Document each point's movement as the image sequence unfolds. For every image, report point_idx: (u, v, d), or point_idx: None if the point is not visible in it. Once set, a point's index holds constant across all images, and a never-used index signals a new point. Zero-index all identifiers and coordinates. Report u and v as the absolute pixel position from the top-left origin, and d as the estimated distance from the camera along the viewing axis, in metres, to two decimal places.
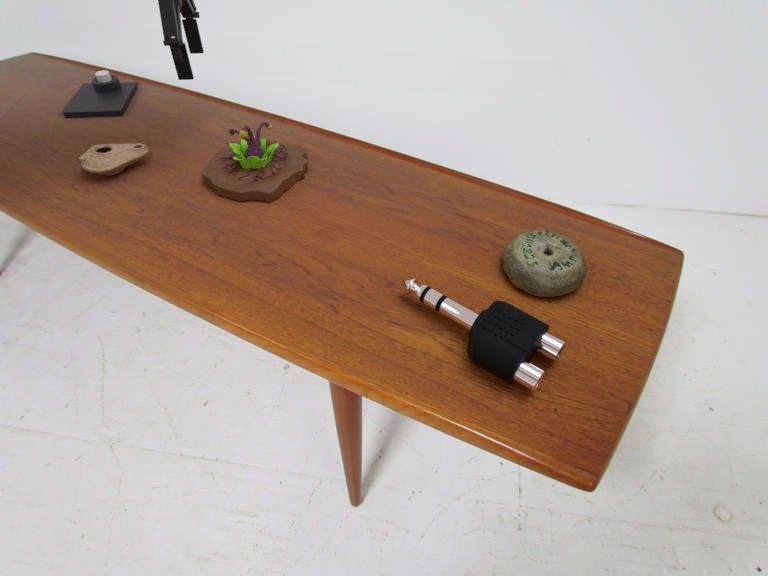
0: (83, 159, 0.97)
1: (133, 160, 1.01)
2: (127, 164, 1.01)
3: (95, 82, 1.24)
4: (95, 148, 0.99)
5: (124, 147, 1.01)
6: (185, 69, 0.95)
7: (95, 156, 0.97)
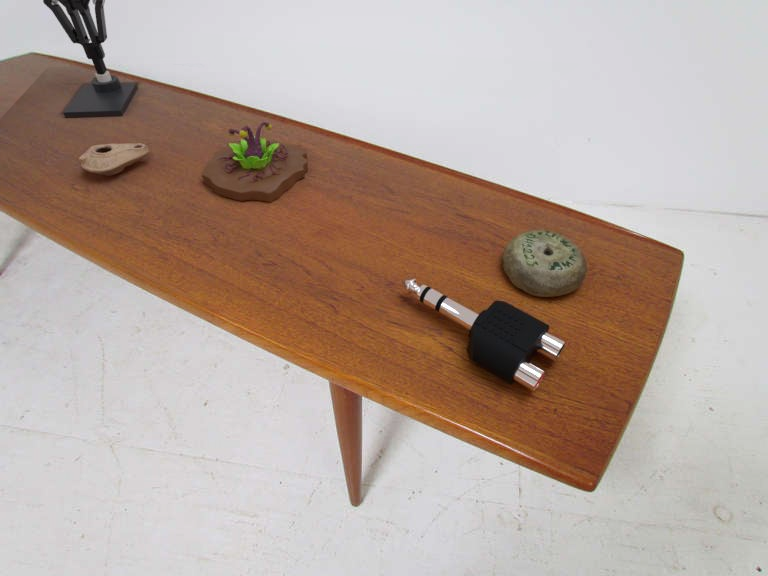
0: (83, 159, 0.97)
1: (133, 160, 1.01)
2: (127, 164, 1.01)
3: (95, 82, 1.24)
4: (95, 148, 0.99)
5: (124, 147, 1.01)
6: (102, 63, 1.23)
7: (95, 156, 0.97)
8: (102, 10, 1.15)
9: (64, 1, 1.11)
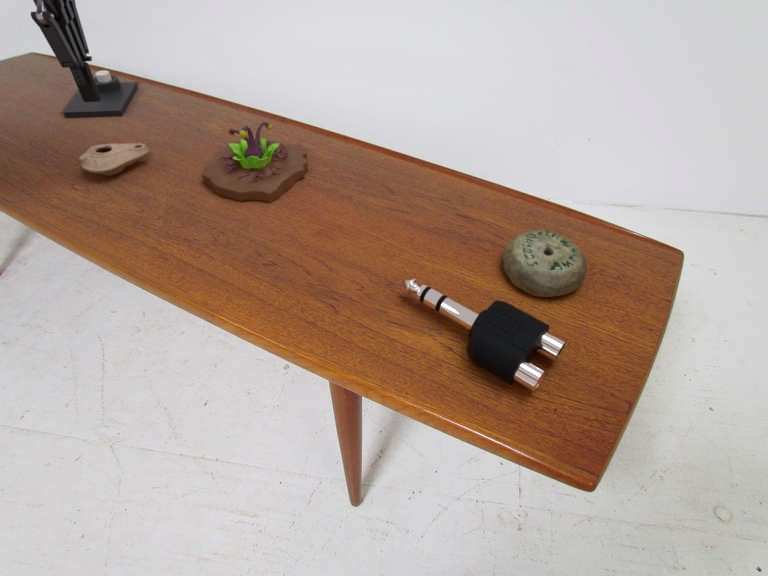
0: (83, 159, 0.97)
1: (132, 160, 1.01)
2: (127, 164, 1.01)
3: (95, 82, 1.24)
4: (95, 148, 0.99)
5: (124, 147, 1.01)
6: None
7: (95, 156, 0.97)
8: None
9: (62, 5, 0.81)
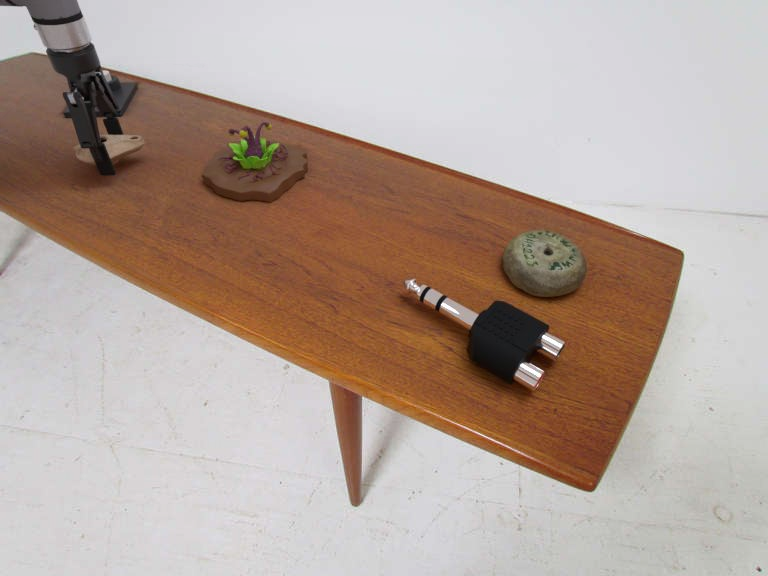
0: (78, 149, 0.96)
1: (128, 152, 1.00)
2: (122, 155, 1.00)
3: None
4: None
5: (120, 138, 1.00)
6: None
7: None
8: None
9: (94, 90, 0.90)
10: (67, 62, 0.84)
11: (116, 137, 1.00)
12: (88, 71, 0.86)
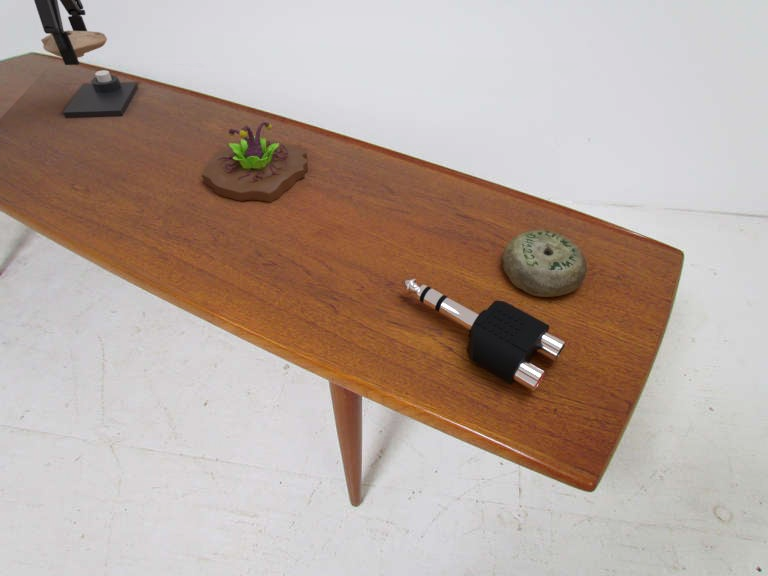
0: (44, 40, 1.07)
1: (91, 46, 1.10)
2: (86, 49, 1.10)
3: (95, 82, 1.24)
4: None
5: (83, 33, 1.10)
6: None
7: None
8: None
9: None
10: None
11: (80, 32, 1.10)
12: None
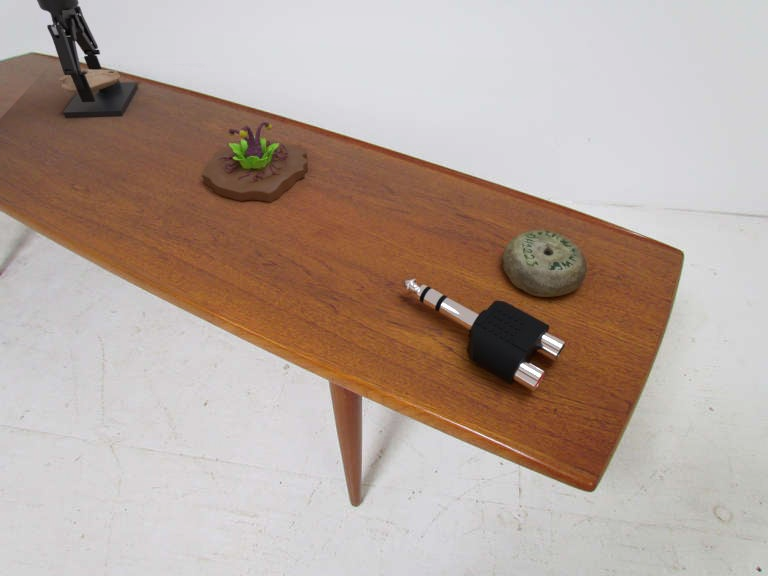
0: (63, 80, 1.15)
1: (106, 83, 1.19)
2: (101, 86, 1.18)
3: None
4: None
5: (98, 72, 1.18)
6: None
7: None
8: None
9: (74, 25, 1.08)
10: None
11: (95, 71, 1.18)
12: (68, 8, 1.05)
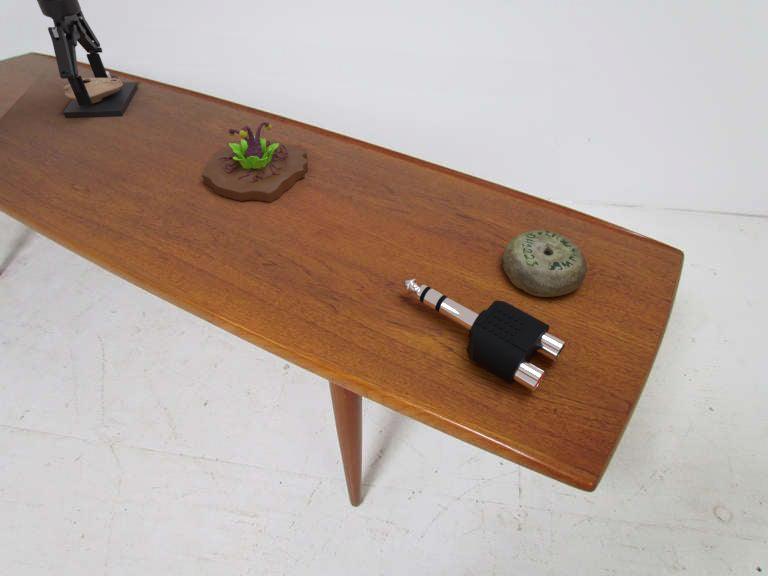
0: (66, 88, 1.16)
1: (108, 92, 1.20)
2: (104, 94, 1.20)
3: None
4: None
5: (101, 80, 1.19)
6: None
7: None
8: None
9: (76, 31, 1.08)
10: (53, 6, 1.03)
11: (98, 79, 1.19)
12: (70, 14, 1.05)
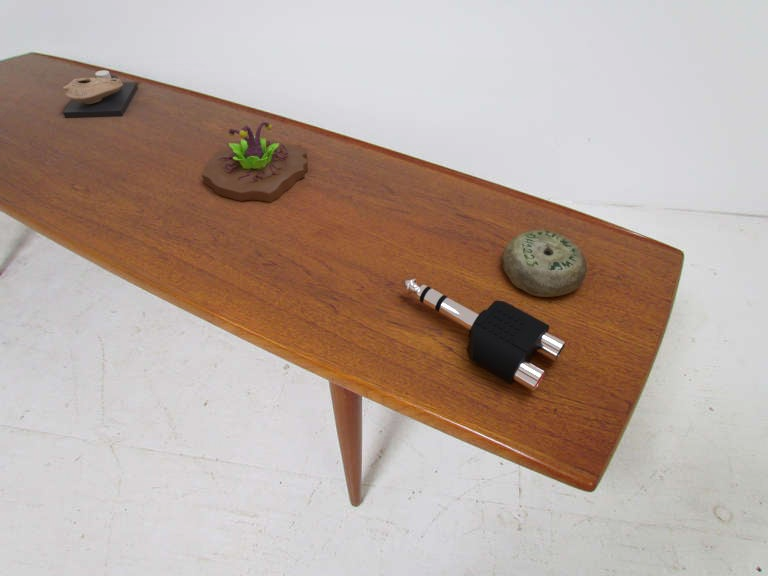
0: (66, 88, 1.16)
1: (108, 92, 1.20)
2: (104, 94, 1.20)
3: None
4: (77, 80, 1.18)
5: (101, 80, 1.19)
6: None
7: (76, 85, 1.16)
8: None
9: None
10: None
11: (98, 79, 1.19)
12: None
